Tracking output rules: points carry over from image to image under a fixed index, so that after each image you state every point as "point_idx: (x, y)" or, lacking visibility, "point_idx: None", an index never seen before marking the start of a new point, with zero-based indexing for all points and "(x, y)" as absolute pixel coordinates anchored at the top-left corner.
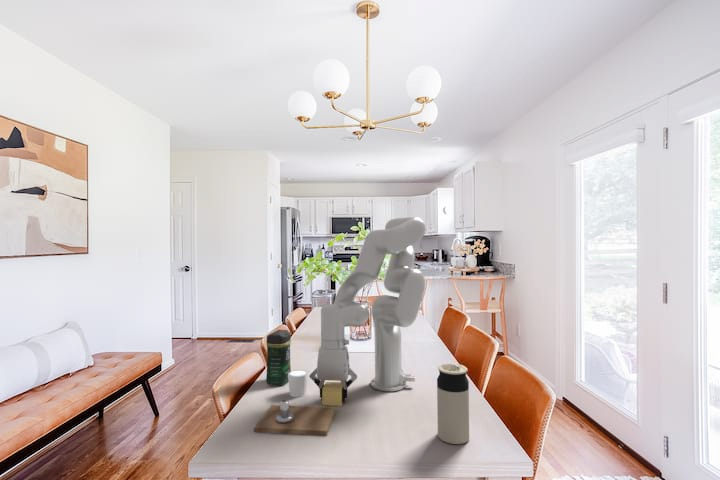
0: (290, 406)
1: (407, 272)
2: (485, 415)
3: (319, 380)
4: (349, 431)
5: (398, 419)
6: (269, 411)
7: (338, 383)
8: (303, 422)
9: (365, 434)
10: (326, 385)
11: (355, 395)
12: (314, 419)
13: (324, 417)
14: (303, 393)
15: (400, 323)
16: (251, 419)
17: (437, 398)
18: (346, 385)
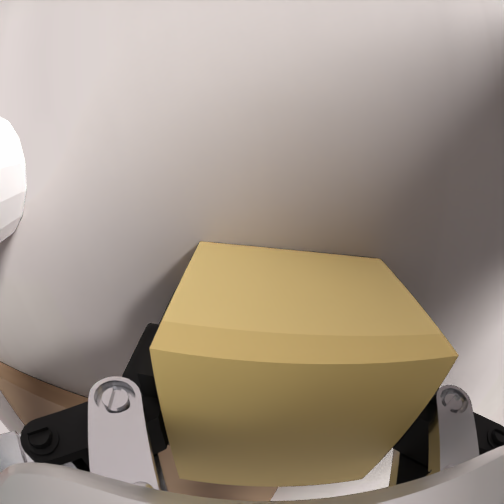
0: (53, 407)
1: None
2: None
3: (86, 462)
4: (332, 488)
5: (490, 416)
6: (21, 414)
7: (375, 399)
8: (175, 491)
9: (372, 485)
10: (199, 444)
11: (465, 213)
12: (208, 489)
13: (246, 487)
14: (9, 227)
15: None
16: (7, 405)
17: None
18: (425, 464)
